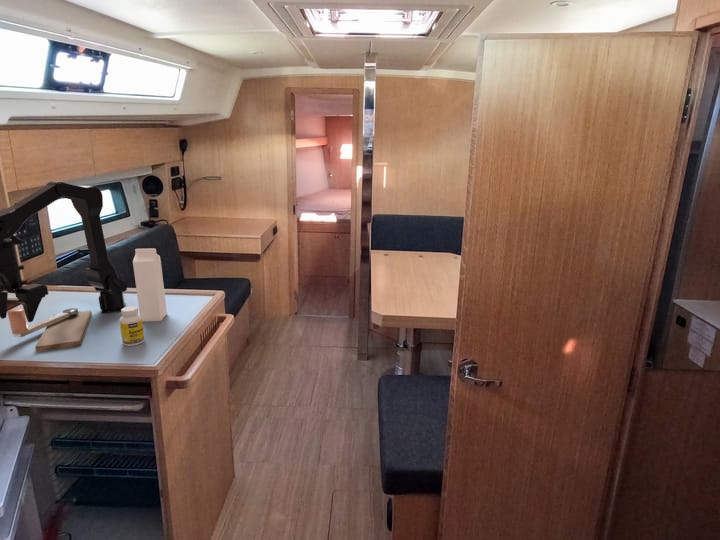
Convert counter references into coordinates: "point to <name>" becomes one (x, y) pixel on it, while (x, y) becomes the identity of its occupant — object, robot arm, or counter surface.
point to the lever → (22, 329)
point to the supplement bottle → (131, 326)
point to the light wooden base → (65, 332)
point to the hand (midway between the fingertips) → (17, 319)
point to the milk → (149, 284)
